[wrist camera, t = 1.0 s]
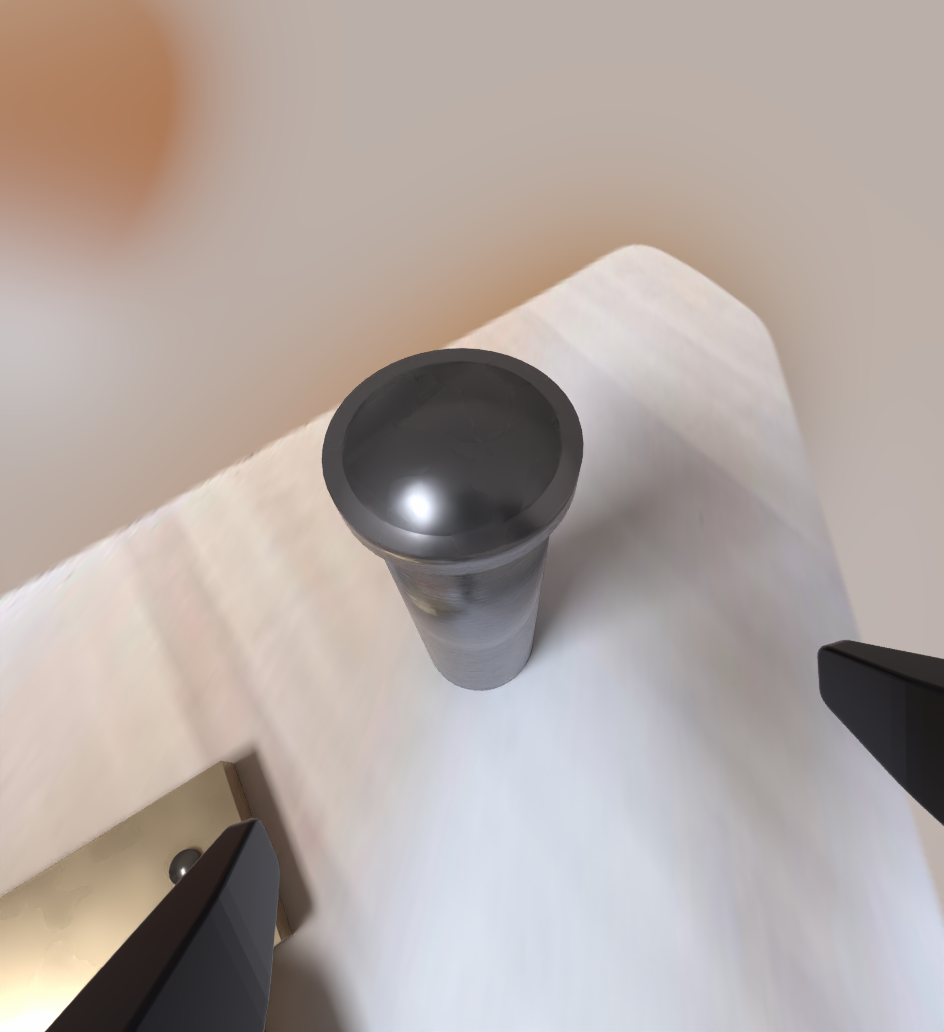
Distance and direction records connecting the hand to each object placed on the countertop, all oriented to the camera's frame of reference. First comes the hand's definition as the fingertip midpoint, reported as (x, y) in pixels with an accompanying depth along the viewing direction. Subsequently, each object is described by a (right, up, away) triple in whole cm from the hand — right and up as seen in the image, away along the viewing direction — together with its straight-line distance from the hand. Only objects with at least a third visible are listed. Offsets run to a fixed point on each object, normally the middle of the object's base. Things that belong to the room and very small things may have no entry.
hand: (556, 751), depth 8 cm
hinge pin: (-1, -1, +14) cm, 14 cm away
